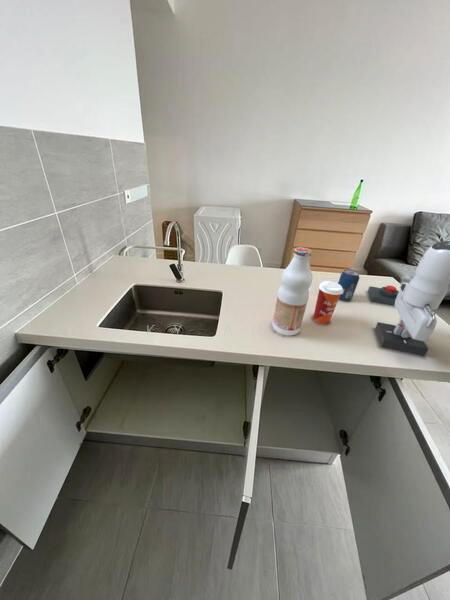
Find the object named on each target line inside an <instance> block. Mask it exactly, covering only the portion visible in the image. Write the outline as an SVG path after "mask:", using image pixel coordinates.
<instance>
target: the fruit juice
mask: <svg viewBox="0 0 450 600" xmlns="http://www.w3.org/2000/svg"><path fill="white" fill-rule="evenodd" d="M312 252H313V251H312V250H311V248H308V247H302V246H298V247H295V248H294V250H293V258H292V259H291V260H290V262H289V263H288V265H287V266H286V267H285V269H284V270H283V272H282V274H281V279H280V280H281V284H280V286H279V288H278V291H277V295H276V302H275V306H274V312H273V318H272V322H271V323H272V328H273V330H274V331H275V332H277V333H278V334H279V335H282V336H295V335H297V334H298V333H299V332H300V330H301V328H302V327H301V326H302V323H303V319H304V316H305V313H306V309H307V304H308V301H309V296H310V291H309V289H310V287H311V286H312V284H313V278H314V276H313V273H312V270H311V263H310V259H311V257H312V254H313V253H312Z"/></svg>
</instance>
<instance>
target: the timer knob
mask: <svg viewBox="0 0 450 600" xmlns="http://www.w3.org/2000/svg"><path fill="white" fill-rule="evenodd" d="M395 326H396V327H395V329H394V331H393V332H394V334H395V335H400V333H401V331H402V330H405V327H406V326H405V325H402V324H399V323H397V324H396V325H395ZM400 336H401V335H400ZM408 337H411V335H410V334H409V336H408Z"/></svg>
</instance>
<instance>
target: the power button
mask: <svg viewBox="0 0 450 600" xmlns="http://www.w3.org/2000/svg"><path fill="white" fill-rule="evenodd" d="M385 287H386V289H385V290H386V291H387V292H390V293H395V291H396V290H397V287H396V286H393V285H386V286H385Z"/></svg>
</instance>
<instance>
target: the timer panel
mask: <svg viewBox="0 0 450 600" xmlns="http://www.w3.org/2000/svg"><path fill="white" fill-rule="evenodd" d="M395 327H396V325H395V324H390V323H386V322H380V321H378V322H377V323H376V325H375V327H374V331H375V333H376V336H377V339H378V342H379V345H380V348H383V349H384V348H385V349H387V350H388V349H389V350H393V351H398V352H402V353H406V354H412V355H415V356H420V357H425V356H426V354H427V353H428V351H429V348H428V346H427V344H426V341H419V340H415V339H412V337H408V338H403V337H401V336H400V335H395V334H394V332H393V331H394V329H395Z"/></svg>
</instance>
